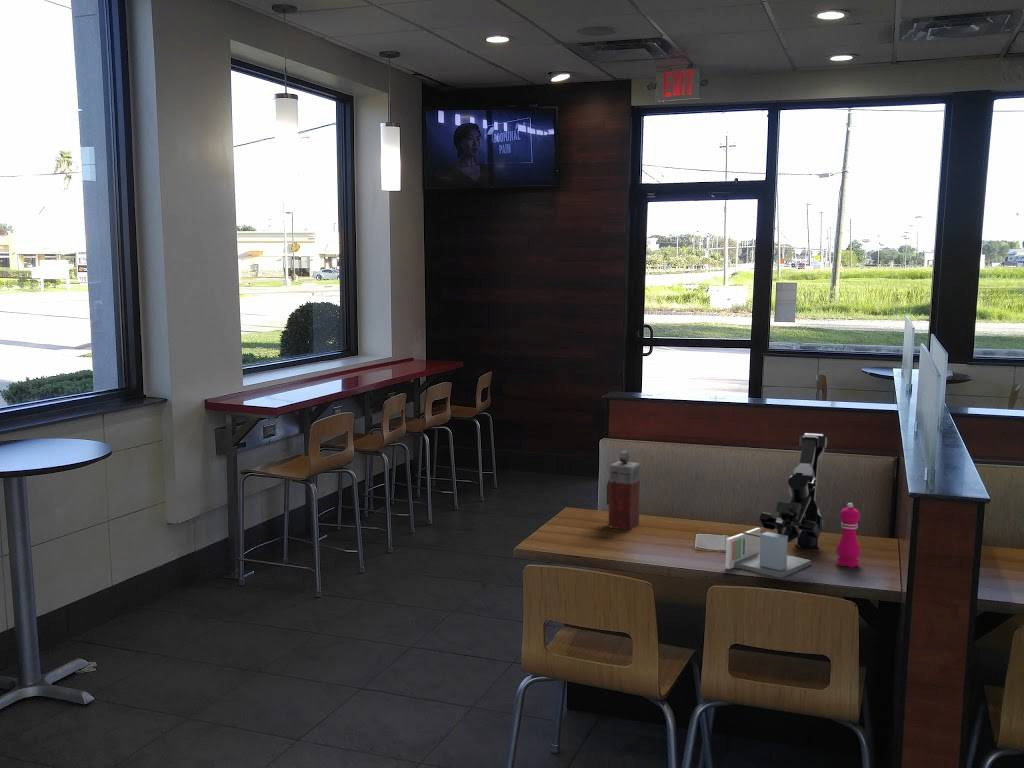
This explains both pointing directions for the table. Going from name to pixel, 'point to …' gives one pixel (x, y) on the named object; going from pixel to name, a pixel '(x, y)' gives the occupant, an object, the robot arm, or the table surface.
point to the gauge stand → (756, 556)
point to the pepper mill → (848, 537)
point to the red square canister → (623, 493)
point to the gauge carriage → (772, 550)
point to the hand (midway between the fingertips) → (778, 547)
